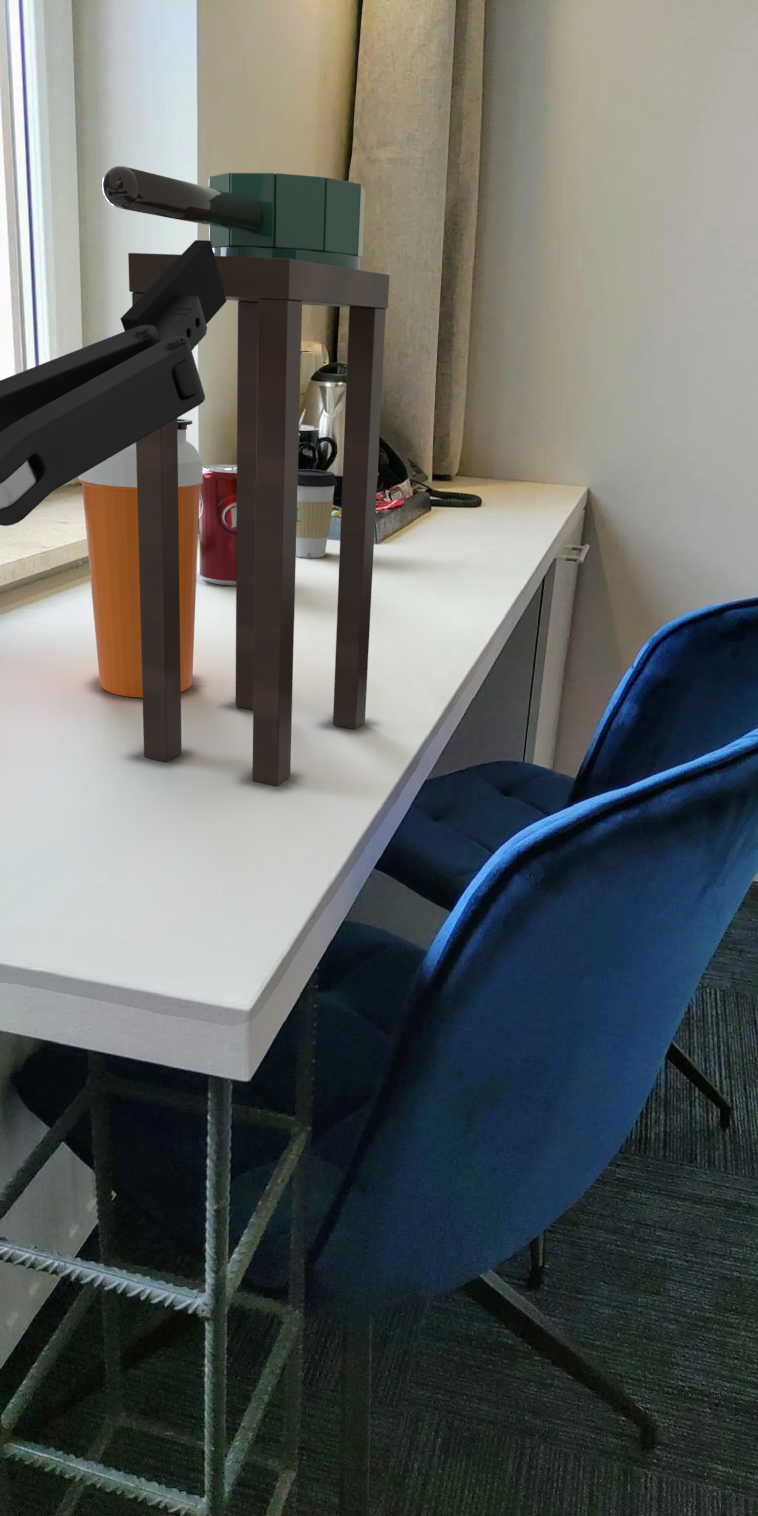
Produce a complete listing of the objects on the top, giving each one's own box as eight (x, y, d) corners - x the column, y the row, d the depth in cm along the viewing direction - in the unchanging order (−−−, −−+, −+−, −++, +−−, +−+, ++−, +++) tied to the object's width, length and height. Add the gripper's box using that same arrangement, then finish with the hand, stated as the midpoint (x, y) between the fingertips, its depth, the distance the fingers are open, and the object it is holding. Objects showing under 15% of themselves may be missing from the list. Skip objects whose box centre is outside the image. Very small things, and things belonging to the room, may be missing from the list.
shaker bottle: (200, 703, 83) (198, 425, 76) (78, 700, 82) (64, 418, 75) (207, 669, 91) (206, 414, 84) (96, 666, 90) (86, 409, 83)
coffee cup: (295, 547, 142) (297, 467, 139) (342, 553, 140) (345, 472, 137) (272, 555, 137) (274, 472, 133) (321, 561, 134) (324, 477, 131)
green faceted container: (254, 269, 73) (255, 191, 72) (385, 274, 70) (389, 193, 69) (31, 239, 54) (25, 131, 52) (198, 244, 51) (198, 130, 49)
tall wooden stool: (278, 787, 69) (289, 258, 58) (141, 757, 72) (127, 252, 61) (367, 722, 81) (389, 274, 70) (246, 699, 84) (250, 269, 74)
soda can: (185, 578, 122) (184, 466, 118) (230, 569, 128) (230, 462, 123) (235, 589, 118) (236, 474, 114) (279, 580, 124) (281, 469, 120)
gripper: (-403, 596, 46) (-93, 328, 58) (104, 698, 37) (344, 358, 49) (-544, 439, 40) (-167, 178, 52) (16, 516, 32) (311, 183, 44)
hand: (82, 265), depth 51 cm, fingers open, 13 cm apart
